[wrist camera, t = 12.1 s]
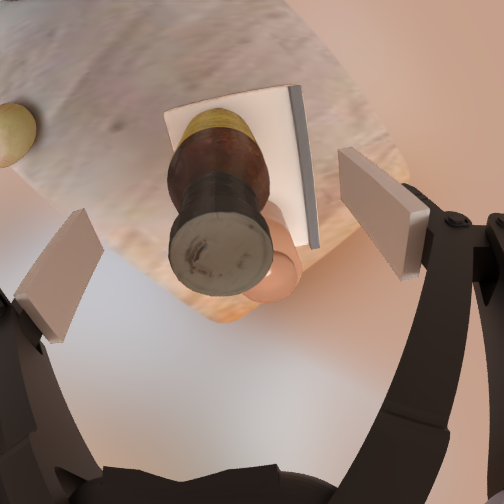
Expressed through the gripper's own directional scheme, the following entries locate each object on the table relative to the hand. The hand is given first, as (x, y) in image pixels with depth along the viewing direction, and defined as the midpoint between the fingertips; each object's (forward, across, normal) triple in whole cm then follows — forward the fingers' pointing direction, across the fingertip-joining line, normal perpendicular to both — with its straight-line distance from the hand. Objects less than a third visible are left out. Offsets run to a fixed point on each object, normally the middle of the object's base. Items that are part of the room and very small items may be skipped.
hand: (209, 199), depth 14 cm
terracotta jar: (+16, +2, -11) cm, 19 cm away
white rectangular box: (+18, +2, -6) cm, 19 cm away
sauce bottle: (+16, 0, -1) cm, 16 cm away
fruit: (+19, -23, +8) cm, 31 cm away
